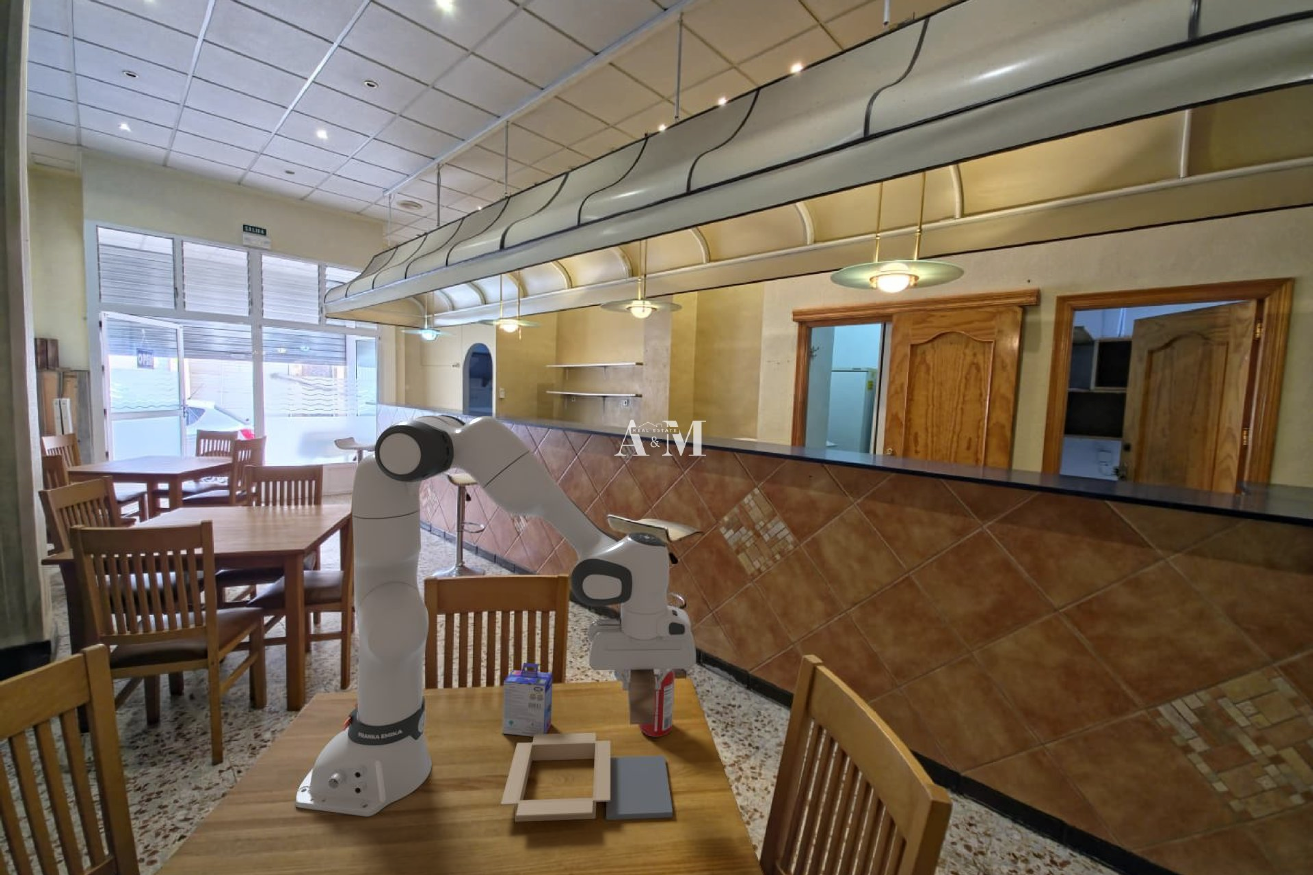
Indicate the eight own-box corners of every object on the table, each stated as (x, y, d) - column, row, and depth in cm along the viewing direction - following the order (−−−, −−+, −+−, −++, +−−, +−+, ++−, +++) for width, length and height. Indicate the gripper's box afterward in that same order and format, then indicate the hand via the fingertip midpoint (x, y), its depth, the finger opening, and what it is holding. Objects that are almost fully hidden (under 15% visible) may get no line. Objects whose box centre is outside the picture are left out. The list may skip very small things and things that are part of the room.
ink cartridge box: (552, 722, 113) (554, 662, 112) (544, 739, 108) (546, 676, 107) (511, 718, 114) (512, 658, 113) (501, 734, 109) (502, 672, 107)
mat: (606, 819, 88) (606, 814, 88) (606, 761, 102) (607, 757, 102) (672, 816, 89) (672, 811, 89) (664, 759, 103) (664, 755, 103)
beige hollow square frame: (497, 834, 84) (497, 815, 84) (519, 750, 104) (519, 734, 104) (609, 829, 86) (610, 811, 86) (609, 747, 106) (610, 732, 106)
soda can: (669, 742, 108) (672, 677, 107) (635, 737, 109) (637, 673, 108) (674, 719, 116) (676, 658, 115) (641, 714, 117) (644, 654, 116)
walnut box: (629, 724, 89) (631, 682, 89) (628, 693, 98) (629, 655, 98) (653, 723, 90) (655, 681, 89) (650, 693, 99) (651, 655, 98)
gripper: (587, 627, 88) (585, 699, 90) (699, 626, 90) (696, 697, 92) (589, 611, 95) (587, 679, 96) (693, 611, 97) (690, 677, 98)
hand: (641, 688), depth 94 cm, fingers closed on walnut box, 4 cm apart
